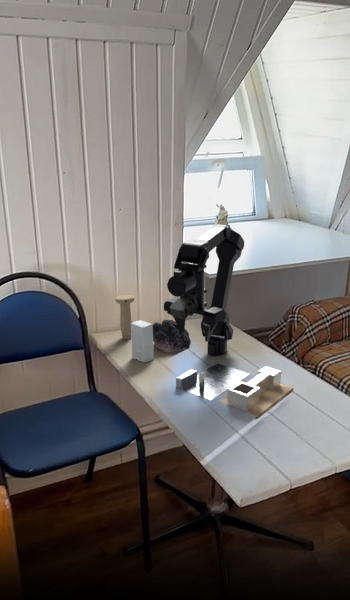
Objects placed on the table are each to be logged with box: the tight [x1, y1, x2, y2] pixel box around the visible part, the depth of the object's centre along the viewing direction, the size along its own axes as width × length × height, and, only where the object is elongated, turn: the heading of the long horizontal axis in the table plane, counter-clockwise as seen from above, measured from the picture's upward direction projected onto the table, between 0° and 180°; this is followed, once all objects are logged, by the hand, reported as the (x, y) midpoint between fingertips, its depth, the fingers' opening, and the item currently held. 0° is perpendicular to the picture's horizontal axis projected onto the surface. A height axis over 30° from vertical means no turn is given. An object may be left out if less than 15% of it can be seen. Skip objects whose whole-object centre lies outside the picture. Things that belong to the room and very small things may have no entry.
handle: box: [114, 294, 135, 340], centre depth 190 cm, size 5×6×15 cm
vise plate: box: [175, 362, 251, 402], centre depth 158 cm, size 20×12×6 cm, turn 140°
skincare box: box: [130, 319, 155, 363], centre depth 174 cm, size 6×4×12 cm
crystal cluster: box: [152, 319, 192, 353], centre depth 185 cm, size 13×14×10 cm
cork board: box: [218, 375, 295, 420], centre depth 151 cm, size 19×12×1 cm, turn 140°
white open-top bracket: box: [227, 365, 282, 413], centre depth 150 cm, size 18×6×4 cm, turn 140°
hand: (194, 337), depth 161 cm, fingers open, 9 cm apart
